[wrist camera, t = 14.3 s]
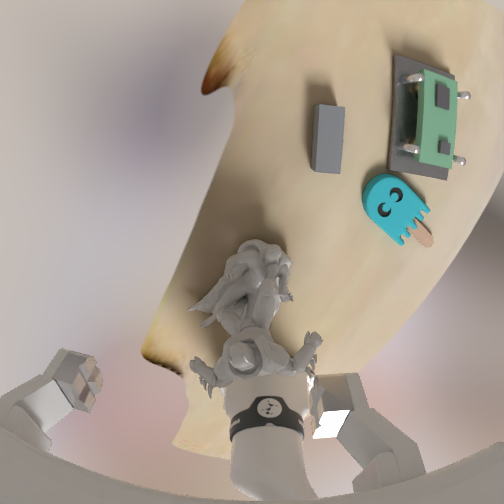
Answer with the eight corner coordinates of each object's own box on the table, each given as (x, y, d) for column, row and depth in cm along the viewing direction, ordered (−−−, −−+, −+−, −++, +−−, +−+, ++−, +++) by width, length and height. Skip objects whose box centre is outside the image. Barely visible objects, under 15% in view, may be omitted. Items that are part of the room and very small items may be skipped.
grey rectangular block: (333, 169, 34) (340, 174, 31) (310, 167, 34) (315, 172, 31) (338, 108, 31) (345, 107, 28) (314, 105, 31) (319, 104, 28)
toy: (420, 264, 38) (355, 206, 34) (414, 259, 40) (351, 202, 36) (448, 230, 35) (388, 164, 32) (441, 225, 37) (382, 162, 34)
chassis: (443, 178, 33) (464, 188, 28) (386, 168, 34) (405, 177, 29) (450, 76, 27) (473, 73, 22) (393, 55, 27) (412, 48, 22)
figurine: (234, 211, 37) (214, 287, 21) (317, 253, 39) (351, 343, 23) (186, 309, 44) (156, 401, 28) (257, 338, 46) (256, 432, 30)
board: (445, 166, 30) (454, 170, 28) (413, 160, 30) (421, 162, 28) (450, 82, 25) (459, 81, 23) (418, 70, 25) (426, 68, 23)
